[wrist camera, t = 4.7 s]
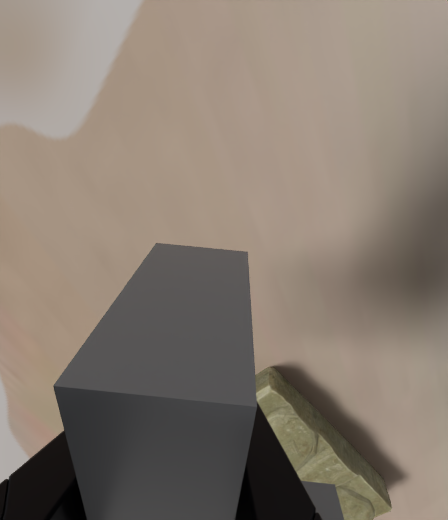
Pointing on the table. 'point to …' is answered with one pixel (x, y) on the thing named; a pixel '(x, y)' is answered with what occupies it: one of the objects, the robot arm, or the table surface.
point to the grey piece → (169, 394)
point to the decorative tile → (320, 449)
